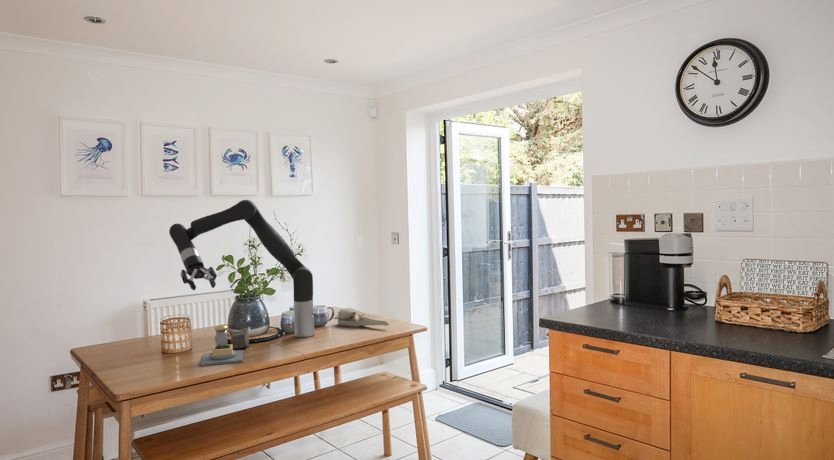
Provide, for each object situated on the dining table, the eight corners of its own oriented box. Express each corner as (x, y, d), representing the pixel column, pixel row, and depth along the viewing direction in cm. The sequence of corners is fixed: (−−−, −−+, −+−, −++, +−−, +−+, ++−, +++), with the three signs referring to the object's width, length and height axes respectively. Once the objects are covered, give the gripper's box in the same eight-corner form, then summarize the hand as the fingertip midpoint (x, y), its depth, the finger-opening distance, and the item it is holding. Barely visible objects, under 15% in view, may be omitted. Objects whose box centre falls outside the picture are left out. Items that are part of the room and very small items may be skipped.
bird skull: (385, 326, 268) (383, 307, 268) (334, 329, 284) (332, 310, 284) (394, 323, 275) (392, 304, 276) (344, 325, 291) (342, 307, 292)
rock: (224, 333, 251) (245, 325, 256) (228, 347, 252) (249, 338, 256) (230, 340, 236) (252, 331, 240) (235, 354, 237) (257, 345, 241)
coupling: (231, 351, 227) (230, 325, 227) (224, 354, 222) (223, 327, 221) (219, 351, 228) (218, 324, 227) (213, 354, 223) (212, 327, 222)
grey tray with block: (243, 352, 235) (243, 340, 234) (242, 362, 219) (242, 350, 219) (204, 355, 230) (203, 344, 230) (200, 366, 215) (200, 354, 214)
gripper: (178, 255, 234) (190, 284, 226) (209, 253, 244) (222, 280, 237) (173, 267, 238) (185, 295, 230) (204, 264, 248) (217, 291, 241)
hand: (204, 287), depth 234 cm, fingers open, 8 cm apart
